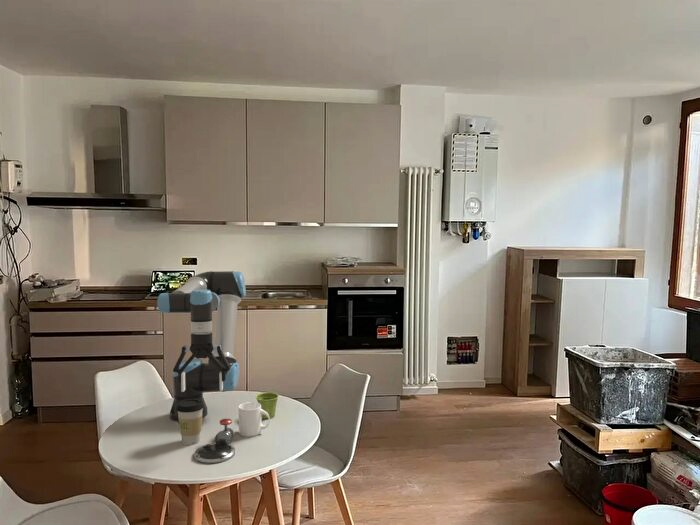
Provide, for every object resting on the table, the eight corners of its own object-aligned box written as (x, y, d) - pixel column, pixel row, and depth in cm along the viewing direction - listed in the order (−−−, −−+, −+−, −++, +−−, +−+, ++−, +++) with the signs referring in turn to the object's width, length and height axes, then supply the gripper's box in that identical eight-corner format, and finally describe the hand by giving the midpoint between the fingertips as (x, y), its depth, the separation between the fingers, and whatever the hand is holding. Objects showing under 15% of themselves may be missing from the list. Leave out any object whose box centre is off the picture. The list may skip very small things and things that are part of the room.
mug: (267, 437, 202) (267, 410, 201) (236, 436, 203) (235, 409, 202) (272, 428, 211) (271, 402, 210) (242, 427, 212) (241, 401, 211)
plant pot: (264, 410, 230) (264, 391, 229) (283, 414, 226) (282, 394, 225) (251, 418, 221) (251, 397, 221) (270, 421, 217) (270, 401, 217)
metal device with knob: (210, 439, 202) (210, 417, 201) (246, 441, 200) (245, 419, 199) (187, 464, 182) (186, 439, 182) (226, 467, 180) (225, 442, 180)
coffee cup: (180, 436, 203) (179, 398, 202) (206, 435, 204) (205, 397, 203) (174, 447, 194) (173, 407, 192) (202, 446, 195) (200, 406, 193)
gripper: (163, 334, 189) (164, 394, 189) (234, 333, 190) (235, 392, 191) (169, 331, 196) (170, 388, 197) (237, 330, 198) (238, 386, 199)
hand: (202, 390), depth 194 cm, fingers open, 13 cm apart
